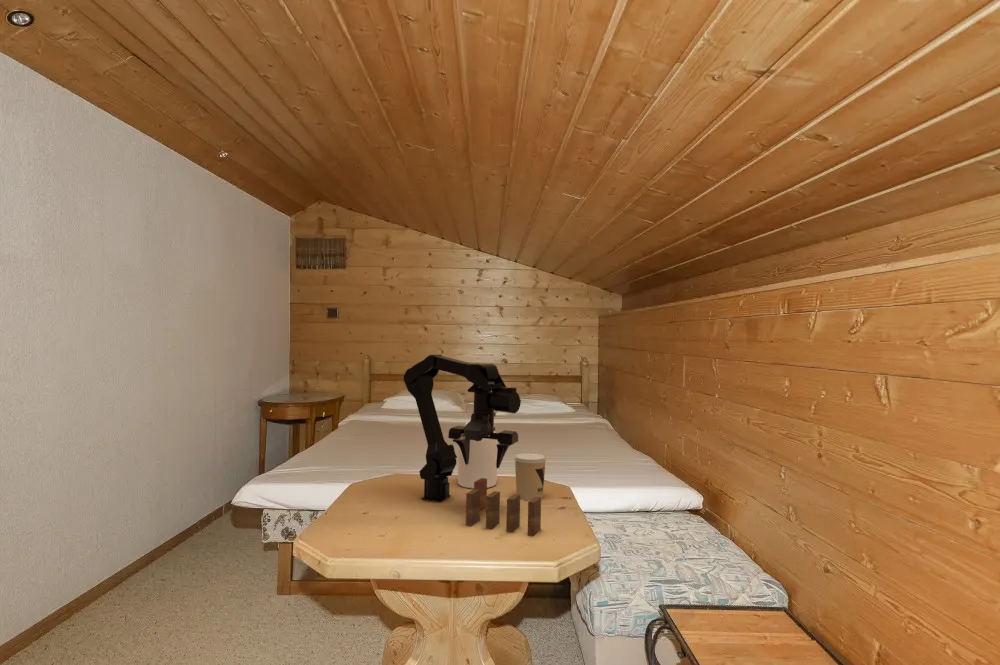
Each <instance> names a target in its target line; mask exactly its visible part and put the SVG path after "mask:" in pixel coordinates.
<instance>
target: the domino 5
mask: <svg viewBox="0 0 1000 665" xmlns="http://www.w3.org/2000/svg"><path fill="white" fill-rule="evenodd" d="M541 517H542V498H541V497H534V498H532V499H531V500H527V536H529V537H530V536H531V537H535V536H536V535H537V534H538V533H539V532H540V531H541V527H542V524H541V523H542V522H541V520H542V518H541Z"/></svg>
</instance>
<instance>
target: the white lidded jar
mask: <svg viewBox="0 0 1000 665" xmlns="http://www.w3.org/2000/svg"><path fill="white" fill-rule="evenodd" d="M469 422H470V421H467V422H465V424H464V426H466V425H467V424H468V423H469ZM494 433H497V432H496V430H495V431H494ZM489 436H490V435H489ZM497 444H498V440H495V439H485V438H483V439H482V440H481V441H475V440H470V452H469V462H468V464H467V465H466V464H465V461H464V458H463V455H462V452H461V449H460V447H459V445H458V444H457V448H458V449H457V450H458V452H457V454H458V456H457V458H458V459H457V483H458V485H459V486H461V487H462V488H465V489H472V490H473V489H474V482H475V481H477V480H479V479H481V478H485V479H487V489H489V488H491V487H492V488H493V487H495V486H496V485H497V480H498V479H497V476H498V474H497V473H498V468H496V461H497Z"/></svg>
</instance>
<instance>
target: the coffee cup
mask: <svg viewBox="0 0 1000 665" xmlns="http://www.w3.org/2000/svg"><path fill="white" fill-rule="evenodd" d="M546 461H547V459H546V457H545V455H543V454H540V453H531V452H530V453H528V452H527V453H525V452H524V453H519V454H516V455H515V456H514V462H515V463H514V466H515V468H514V469H515V486H516V487H515V489H516V494H520V500H525V501H530V500H531V499H532V498H534V497H541V499H543V495H544V485H545V483H544V482H545V472H546V471H545V469H546Z"/></svg>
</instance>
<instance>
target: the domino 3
mask: <svg viewBox="0 0 1000 665" xmlns="http://www.w3.org/2000/svg"><path fill="white" fill-rule="evenodd" d="M500 501H501V492H500V491H495V490H494V491H492V492H491V493H489V494H487V496H486V508H485V530H493V529H495V528H496V527H497V526H499V525H500V520H501V519H500V517H501V516H500V513H501V512H500V510H501V502H500Z"/></svg>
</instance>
